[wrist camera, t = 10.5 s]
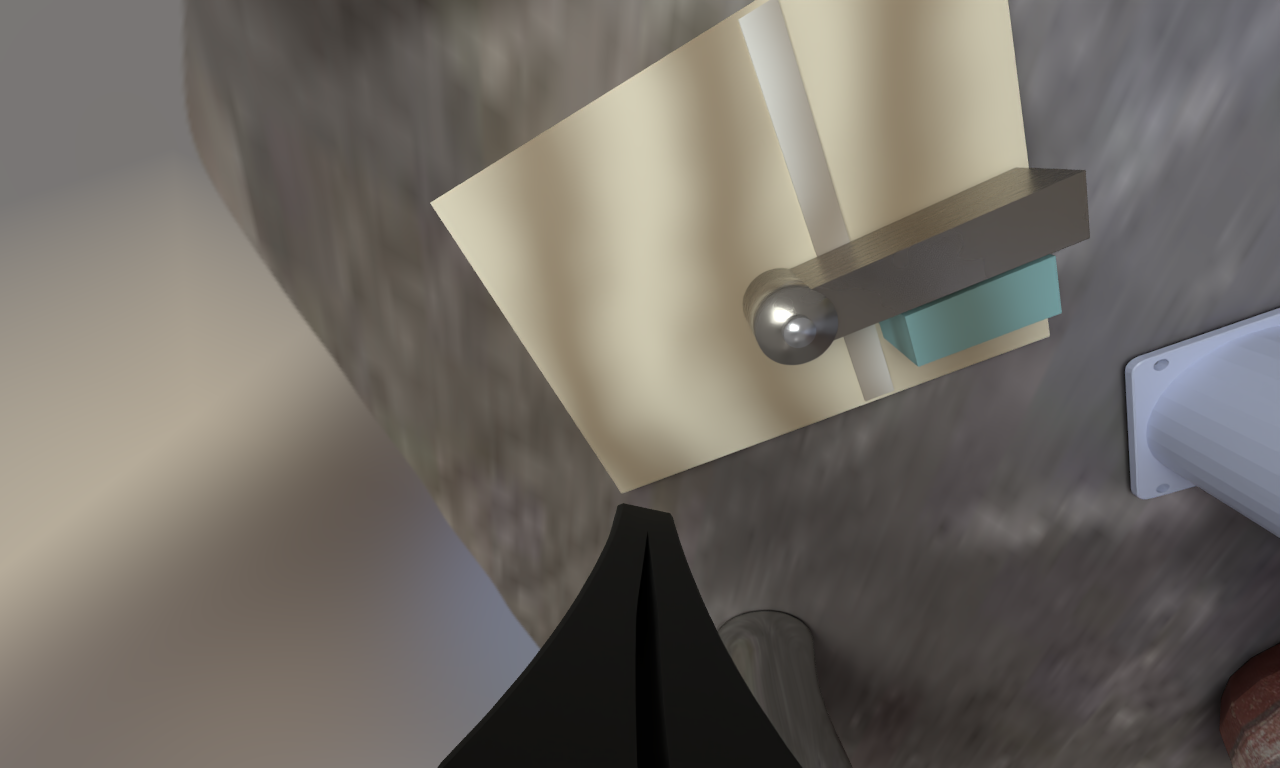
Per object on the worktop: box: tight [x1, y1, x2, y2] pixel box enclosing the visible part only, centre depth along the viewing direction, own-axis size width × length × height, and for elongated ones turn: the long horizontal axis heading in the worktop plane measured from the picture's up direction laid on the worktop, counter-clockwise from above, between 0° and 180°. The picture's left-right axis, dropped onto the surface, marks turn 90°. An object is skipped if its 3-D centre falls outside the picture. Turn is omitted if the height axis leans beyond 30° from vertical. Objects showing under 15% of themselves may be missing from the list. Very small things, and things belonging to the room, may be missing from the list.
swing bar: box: [743, 167, 1090, 365], centre depth 15 cm, size 10×3×3 cm, turn 116°
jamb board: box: [431, 0, 1062, 493], centre depth 16 cm, size 19×15×4 cm
